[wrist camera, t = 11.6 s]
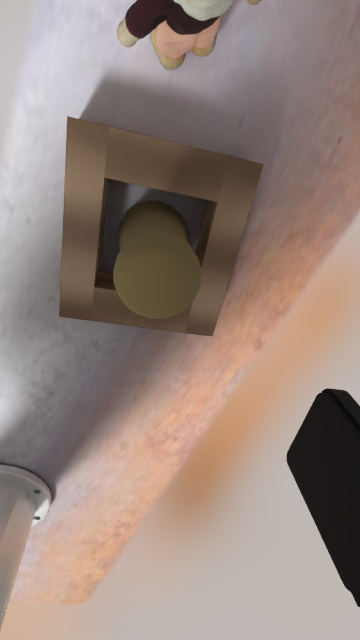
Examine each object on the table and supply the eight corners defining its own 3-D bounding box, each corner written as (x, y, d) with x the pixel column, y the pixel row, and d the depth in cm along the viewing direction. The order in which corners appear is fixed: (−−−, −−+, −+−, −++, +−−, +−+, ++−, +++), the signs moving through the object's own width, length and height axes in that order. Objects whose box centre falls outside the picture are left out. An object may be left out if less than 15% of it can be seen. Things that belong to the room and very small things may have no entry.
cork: (185, 196, 26) (210, 224, 16) (191, 267, 28) (216, 327, 19) (110, 205, 25) (90, 239, 16) (124, 275, 28) (114, 341, 19)
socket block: (205, 318, 31) (212, 336, 28) (68, 298, 29) (59, 316, 26) (248, 162, 25) (263, 164, 22) (77, 120, 22) (67, 116, 19)
